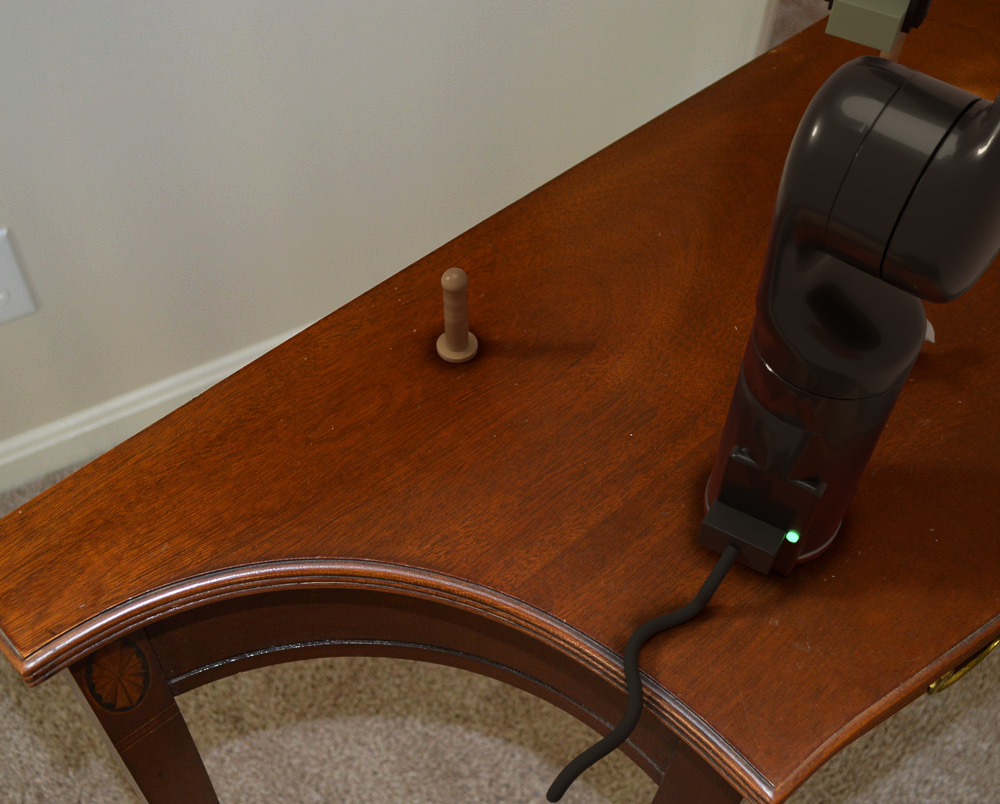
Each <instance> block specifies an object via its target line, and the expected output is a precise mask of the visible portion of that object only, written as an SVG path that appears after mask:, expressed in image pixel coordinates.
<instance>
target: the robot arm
mask: <svg viewBox="0 0 1000 804" xmlns="http://www.w3.org/2000/svg"><path fill="white" fill-rule="evenodd" d="M823 1H824V2H827V3H828V5H827V10H828V11H831V9H832V6H833V2H834V0H823ZM932 2H933V0H910V2H909V5H908V8H907V13H906V16H905V19H904V22H903V25H902V28H901V32H903V33H906V34H907V35H909V34H910V33H911V32H912V30H913V29H917V30H918V29H919V28H920V26H921V25H922V24H923V22H924V21H925V19H926V18H927V17H928V15H929V11H930V8H931V6H932ZM776 192H777V193H776V197H775V200H774V207H773V211H772V217H771V223H770V229H769V233H768V239H767V243H766V249H765V253H764V259H763V264H762V268H761V272H760V276H759V280H758V284H757V288H756V294H755V303H754V305H755V306H754V307H755V314H754V319H753V322H752V326H751V329H750V332H749V336H748V340H747V344H746V347H745V350H744V353H743V357H742V359H741V360H742V361H741V363H740V367H739V371H738V376H737V378H736V381H735V385H734V390H733V393H732V397H731V401H730V404H729V407H728V411H727V416H726V419H725V422H724V425H723V430H722V432H721V436H720V440H719V444H718V448H717V451H716V455H715V459H714V464H713V467H712V471H711V473H710V475H709V478H708V480H707V482H706V486H705V490H704V495H703V502H702V503H703V504H702V505H703V512H704V517H703V519H702V521H701V523H700V527H699V531H698V534H697V538H696V543H697V544H699V545H701V546H703V547H705V548H707V549H710V550H712V551H714V552H716V553H718V554H720V555H721V556H720V557H719V559H718V560H717V562H716V564H715V565H714V566H713V568H712V570H711V571H710V573H709V574H708V576H707V577H706V579H705V580H704V582H703V583H702V585H701V587H700V589H699V590H698V592H697V593H696V595H695V597H694V598H693V599H692V600H690V602H688V603H687V604H686V605H684V606H683V607H681V608H679V609H677V610H674V611H671V612H669V613H666V614H662V615H659V616H657V617H654V618H652V619H649V620H647V621H645V622H643V623H642V624H641V625H639V626H638V627H637V628H636V629H634V631H633V632H632V634H630V636H629V638H628V640H627V641H626V644H625V647H624V650H623V652H624V653H623V670H624V676H625V677H624V678H625V683H626V688H627V696H628V697H627V700H628V701H627V706H626V710H625V713H624V714H623V716H622V718H621V720H620V721H619V723H618V724H617V725H616V726H615V727H614V728H613V730H611V732H609V733H608V734H607V735H605V736H604V737H603V738H602V739H599V741H597V742H595V743H594V744H592V745H591V746H589V747H588V748H587V749H585V750H583V751H582V752H581V753H580V754H578V755H577V756H575V757H574V758H573V759H572V760H571V761H570V762H569V763H568V764H566V765H565V767H564V768H563V769H562V770H561V771H560V772H559V774H558V775H557V776H556V777H555V779H554V780H553V781H552V783H551V785H550V786H549V788H548V789H547V792H546V794H545V797H546V798H545V799H546V801H548V802H549V803H550V804H553V803H554V804H557V803H558V802H559V801H561V800H562V798H563V797H564V795H565V794H566V792H567V791H568V789H569V788H570V787H571V785H572V784H573V783H574V782H575V781H576V780H577V779H578V778H579V777H580V776H581V775H582V774H583V773H584V772H586V770H588V769H589V768H590V767H592V766H593V765H594V764H596V763H598V762H599V761H601V760H602V759H603V758H604V757H606V756H608V755H610V754H611V753H612V752H614V751H615V750H616V749H618V748H619V747H620V746H621V745H622V744H623V743H625V741H626V740H627V739H628V738H629V737H630V736H631V734H632V733H633V732H634V731H635V728H636V726H637V725H638V723H639V721H640V719H641V715H642V713H643V712H642V711H643V706H644V692H643V691H644V690H643V684H642V678H641V674H640V669H639V654H640V651H641V649H642V646H644V643H645V642H646V641H648V639H649V638H650V637H652V636H653V635H656V634H657V633H659V632H662V631H665V630H667V629H670V628H673V627H676V626H678V625H681V624H683V623H686V622H688V621H689V620H691V619H692V618H694V617H695V616H697V615H698V614H699V613H701V612H702V611H703V610H704V609H705V608H706V607H707V606H708V604H709V603H710V601H711V600H712V599H713V597H714V595H715V593H716V592H717V590H718V589H719V588H720V586H721V585H722V583H723V581H724V579H726V577H727V575H728V573H729V572H730V570H731V568H732V567H733V565H734V564H735V563H736V562H737V563H740V564H741V565H744V566H746V567H748V568H750V569H752V570H755V571H757V572H759V573H761V574H763V575H765V576H767V575H768V574H769V572H770V571H772V572H774V573H777V574H779V575H781V576H783V577H788V576H790V574H791V572H792V570H793V569H794V567H795V566H798V565H802V564H806V563H808V562H811V561H812V560H814V559H817V558H818V557H820V556H821V555H822V554H824V553H825V552H826V551H827V550H828V549H829V548H830V546H831V545H832V544H833V542H834V540H835V538H836V537H837V535H838V532H839V530H840V528H841V526H842V522H843V518H844V515H845V513H846V512H847V509H848V507H849V505H850V502H851V500H853V499H854V497H855V495H856V492H857V490H858V485H859V483H860V481H861V478H862V476H863V474H864V472H865V470H866V468H867V466H868V463H869V462H870V461H871V457H872V456H873V453H874V452H875V449H876V447H877V445H878V442H879V440H880V438H881V436H882V434H883V432H884V430H885V428H886V426H887V423H888V421H889V420H890V416H891V414H892V412H893V410H894V408H895V406H896V404H897V402H898V400H899V398H900V397H901V394H902V391H903V389H904V387H905V385H906V384H907V381H908V379H909V376H910V374H911V373H912V371H913V368H914V366H915V363H916V362H917V360H918V357H919V355H920V353H921V351H922V348H923V346H924V342H925V341H924V340H925V336H926V329H927V319H928V317H927V313H926V309H925V306H924V303H923V301H926V302H929V303H933V304H937V305H941V304H948V303H951V302H953V301H955V300H957V299H959V298H961V297H963V295H965V294H966V293H967V292H968V291H969V290H970V289H972V288H973V287H974V285H976V283H977V282H979V280H980V278H981V277H982V276H983V275H984V274H985V273H986V271H988V269H989V267H990V266H991V264H992V263H993V262H994V261H995V259H996V258H997V256H998V254H999V253H1000V90H999V91H998V93H997V95H996V97H995V99H994V100H989V99H988V98H983V97H982V96H981V95H978V94H976V93H973V92H971V91H968V90H965V89H963V88H961V87H957V86H955V85H953V84H951V83H948V82H945V81H943V80H941V79H938V78H936V77H934V76H931V75H928V74H927V73H923V72H921V71H919V70H917V69H914V68H911V67H909V66H906V65H903V64H901V63H899V62H898V63H896V62H893V61H890V60H888V59H885V58H881V57H879V56H876V55H860V56H857V57H854V58H853V59H850V60H848V61H847V62H845V63H844V64H841V66H839V67H838V68H837V69H835V71H833V72H832V73H831V74H830V75H829V77H828V78H827V79H825V81H824V82H823V84H821V86H820V87H819V88H818V90H817V91H816V93H815V94H814V96H813V97H812V98H811V101H810V102H809V104H808V105H807V107H806V110H805V111H804V113H803V115H802V117H801V119H800V121H799V123H798V126H797V127H796V129H795V132H794V135H793V137H792V140H791V142H790V146H789V149H788V151H787V155H786V159H785V162H784V164H783V168H782V171H781V174H780V180H779V184H778V188H777V191H776ZM922 300H923V301H922Z"/></svg>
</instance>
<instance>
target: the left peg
mask: <svg viewBox="0 0 1000 804" xmlns="http://www.w3.org/2000/svg"><path fill="white" fill-rule="evenodd" d="M469 282H470V281H469V277H468V274H467V273H466V271H464V270H463V269H461V268H459V267H450V268H448V269H446V271H444V273H443V274H442V275H441V279H440V284H441V285H440V286H441V288H442V300H443V319H444V332H443V333H441V334H440V336H439V337H438V339H437V340H436V352H437V354H438V356H439V357H440V358H441V359H442V360H444V361H446V362H449V363H452V364H462V363H465V362H468V361H470V360H472V359H473V358H474V357H475V356H476V354H477V353H478V349H479V343H478V339H477V337H476V336H475V335H474V334H473V333H472V332H471V331H469V301H468V296H469V295H468V294H469V293H468V287H469Z"/></svg>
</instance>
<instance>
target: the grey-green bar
mask: <svg viewBox="0 0 1000 804" xmlns="http://www.w3.org/2000/svg"><path fill="white" fill-rule="evenodd" d="M909 2H910V0H834V2H833V6H832V9H831V10H830V14H829V17H828V20H827V25H826V28H825V34H827V35H830V36H833V37H836V38H838V39H839V38H840V39H843V40H846V41H848V42H849V41H850V42H852V43H855V44H859V45H862V46H866V47H869V48H872V49H875V50H878V51H879V50H880V52H881V51H885V52H888V53H890V52H891V51H892V49H893V48H894V46H895V45H896V43H897V42H898V40H899V38H900V37H901V35H902V34H903V32H901V28H902V25H903V22H904V19H905V16H906V13H907V8H908V5H909Z"/></svg>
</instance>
